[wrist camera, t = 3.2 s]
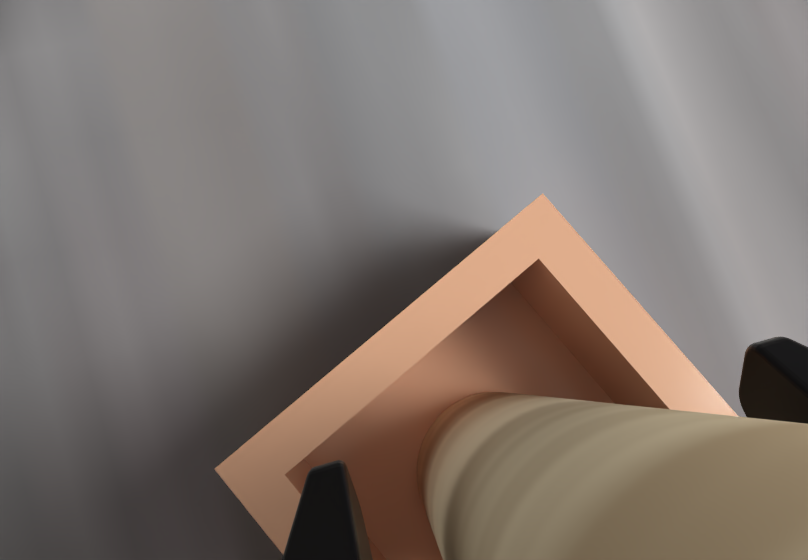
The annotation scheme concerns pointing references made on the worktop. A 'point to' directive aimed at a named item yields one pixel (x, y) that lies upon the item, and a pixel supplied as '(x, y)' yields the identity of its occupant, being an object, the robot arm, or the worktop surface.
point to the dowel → (611, 482)
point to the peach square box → (465, 377)
